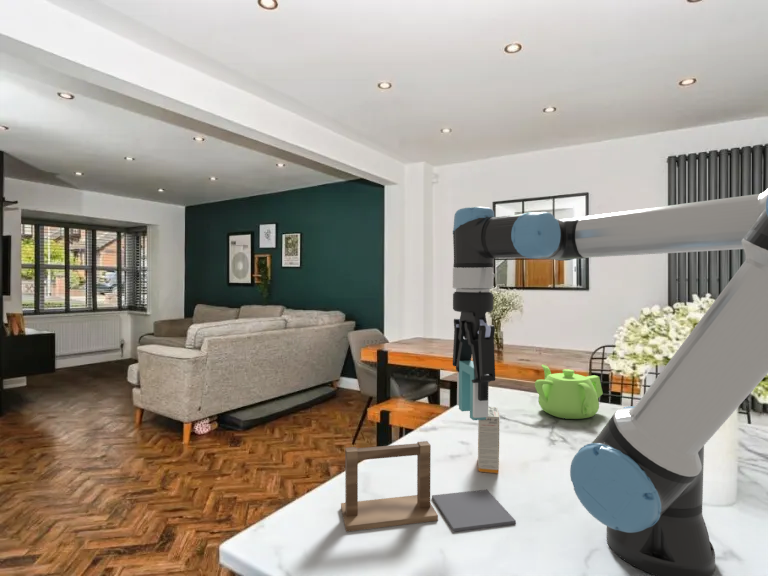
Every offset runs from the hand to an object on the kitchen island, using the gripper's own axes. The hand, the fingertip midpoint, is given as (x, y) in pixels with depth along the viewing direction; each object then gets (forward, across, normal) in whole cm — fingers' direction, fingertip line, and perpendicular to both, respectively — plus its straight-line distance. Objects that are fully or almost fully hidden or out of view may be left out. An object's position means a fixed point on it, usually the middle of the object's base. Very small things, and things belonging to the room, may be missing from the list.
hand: (471, 410), depth 85 cm
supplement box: (+20, +18, -12) cm, 29 cm away
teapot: (+20, +51, -55) cm, 78 cm away
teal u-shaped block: (+1, 0, 0) cm, 1 cm away
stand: (+19, +2, +16) cm, 25 cm away
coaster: (+19, 0, 0) cm, 19 cm away
